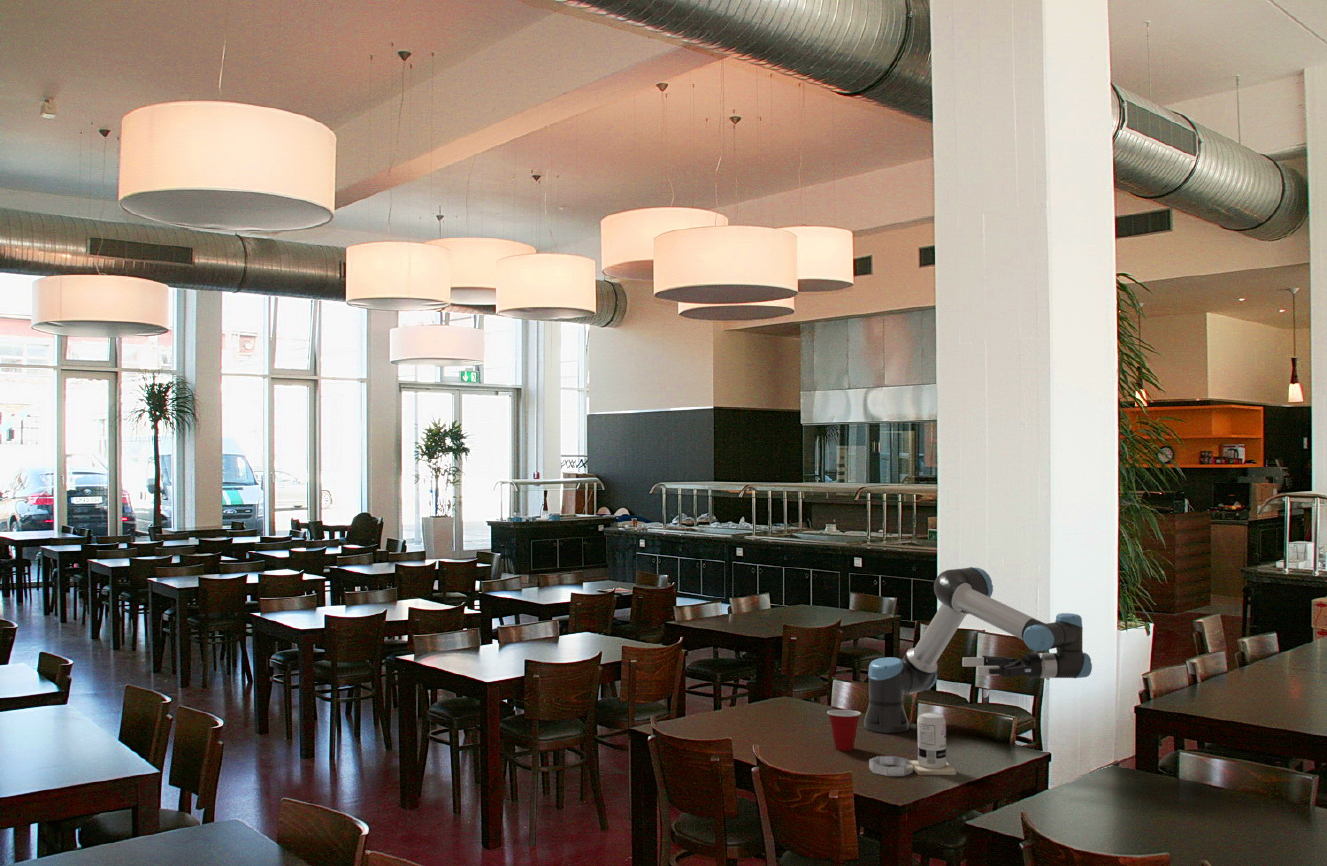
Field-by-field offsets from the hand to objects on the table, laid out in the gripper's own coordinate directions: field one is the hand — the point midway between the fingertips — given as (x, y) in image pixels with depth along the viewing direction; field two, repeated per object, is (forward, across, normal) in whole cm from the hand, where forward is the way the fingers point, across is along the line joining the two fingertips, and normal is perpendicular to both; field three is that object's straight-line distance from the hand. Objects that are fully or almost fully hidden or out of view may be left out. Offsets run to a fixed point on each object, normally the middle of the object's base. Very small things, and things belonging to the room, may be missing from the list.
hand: (969, 666), depth 319 cm
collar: (+26, -4, -30) cm, 40 cm away
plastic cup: (+35, +20, -30) cm, 50 cm away
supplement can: (+13, -4, -29) cm, 32 cm away
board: (+13, -4, -30) cm, 33 cm away
